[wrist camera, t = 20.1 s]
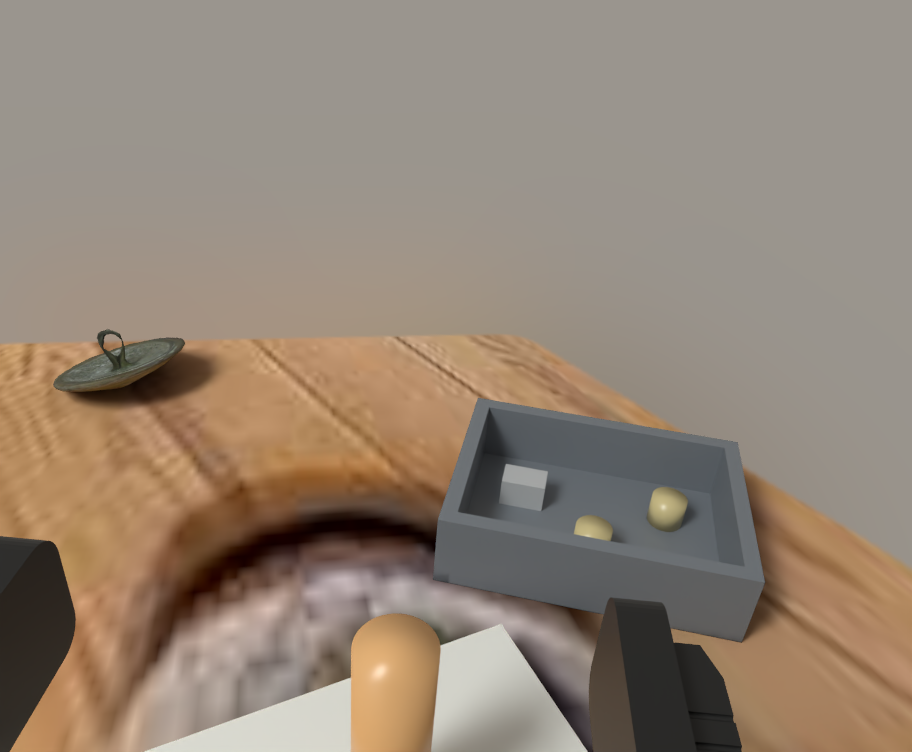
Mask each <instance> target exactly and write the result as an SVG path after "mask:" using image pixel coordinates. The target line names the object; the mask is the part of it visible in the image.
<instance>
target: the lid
mask: <svg viewBox="0 0 912 752" xmlns="http://www.w3.org/2000/svg"><path fill="white" fill-rule="evenodd" d="M106 334H115V335H116V336H118V337H119V338H120V339H121V340H122V338H121V336H120V334H119V333H117V332H114V331H111V330H105V331H101V332H100V333H98V337H97V339H98V342H99V345H100V347H101V348H102V349H103V344H104V336H105V335H106ZM184 345H185V342H184V340H183V339H181V338H180V339H179V338H159V339H153V340H148V341H143V342H139V343H133V344H129V345H126V346H124V343H123V341H122V347H120V348H116V349H113V350H111V351H107V350H105V349H103V351H104V353H103V354H100V355H97V356H94V357H92V358H89V359H87V360H85V361H83V362H81V363H80V364H78V365H75V366H74V367H72V368H71V369H69V370H67V371H65V372H64V373H63V374H61V375H60V376H58V378H56V380H55V381H54V384H53V385H54V387H55V388H56V389H58V390H61V391H69V392H84V391H95V390H106V389H116V388H122V387H125V386H127V385H129V384H131V383H133V382H134V381H136V380H138V379H140V378H142V377H144V376H145V375H147V374H149V373H151V372H153V371H154V370H156V369H157V368H159V367H161V366H162V365H164V364H165V363H167V362H168V361H169V360H170V359H171V358H172V357H174V356H175V355H176V354H177V353H178V352H180V351H181V349H182V348H183V346H184Z"/></svg>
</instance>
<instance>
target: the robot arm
mask: <svg viewBox="0 0 912 752" xmlns="http://www.w3.org/2000/svg"><path fill="white" fill-rule="evenodd" d="M75 620H76V619H75V611H74V607H73V603H72V599H71V596H70V592H69V588H68V585H67V581H66V577H65V574H64V570H63V566H62V563H61V559H60V555H59V552H58V549H57V547H56V545H55V544H54V543H53V542H51V541H44V540H34V539H23V538H13V537H3V536H0V752H10V750H11V748H12V747H13V745H14V743H15V741H16V740H17V738H18V736H19V735H20V733H21V731H22V730H23V728H24V726H25V725H26V723H27V721H28V720H29V718H30V716H31V715H32V713H33V711H34V709H35V708H36V706H37V704H38V703H39V701H40V699H41V698H42V696H43V694H44V693H45V691H46V689H47V688H48V686H49V684H50V683H51V681H52V679H53V678H54V676H55V674H56V672H57V671H58V669H59V667H60V666H61V664H62V662H63V661H64V659H65V657H66V655H67V653H68V651H69V649H70V646H71V643H72V640H73V636H74V631H75ZM589 711H590V722H591V733H592V744H593V752H741V747H742V745H741V742H740V738H739V734H738V731H737V727H736V723H734V722H733V712H732V708H731V705H730V701H729V697H728V693H727V690H726V686H725V682H724V679H723V677H722V676H721V674H720V673H719V671H718V670H717V669H716V667H715V666H714V664H713V663H712V662H711V660H710V659H709V657H708V656H707V655H706V653H705V652H704V650H703V649H702V647H701V646H700V645H693V644H683V643H673V638H672V634H671V629H670V624H669V620H668V615H667V611H666V608H665V606H664V604H663V603H662V602H653V601H643V600H632V599H622V598H612V597H610V598H609V600H608V602H607V605H606V608H605V612H604V617H603V621H602V625H601V629H600V633H599V637H598V641H597V645H596V649H595V653H594V658H593V662H592V666H591V672H590V683H589Z"/></svg>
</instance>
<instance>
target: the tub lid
mask: <svg viewBox="0 0 912 752" xmlns="http://www.w3.org/2000/svg"><path fill="white" fill-rule="evenodd" d="M145 752H588V751H587V750H586V748H585V747H584V746H583V744H582V743H581V741H580V740H579V738H578V737H577V735H576V734H575V732H574V731H573V729H572V728H571V726H570V725H569V723H568V722H567V720H566V719H565V717H564V716H563V714H562V713H561V712H560V710H559V709H558V707H557V706H556V704H555V703H554V701H553V700H552V698H551V697H550V695H549V694H548V692H547V691H546V689H545V688H544V686H543V685H542V683H541V682H540V680H539V679H538V678H537V676H536V675H535V673H534V672H533V670H532V669H531V667H530V666H529V664H528V663H527V661H526V660H525V658H524V657H523V655H522V654H521V652H520V651H519V649H518V648H517V646H516V645H515V643H514V642H513V641H512V639H511V638H510V636H509V635H508V633H507V632H506V630H505V629H504V627H503V626H502V624H500V625H497V626H494V627H491V628H488V629H486V630H483V631H480V632H477V633H475V634H472V635H469V636H466V637H463V638H461V639H458V640H455V641H452V642H449V643H447V644H444V645H441V646H440V642H439V639H438V637H437V635H436V633H435V632H434V630H433V629H432V628H431V627H430V626H429V625H428V624H427V623H425V622H424V621H422V620H420V619H418V618H416V617H414V616H410V615H406V614H387V615H382V616H379V617H376V618H374V619H372V620H370V621H368V622H367V623H366V624H364V625H363V626H362V627H361V628H360V629H359V630H358V632H357V633H356V635H355V637H354V639H353V642H352V648H351V678H349V679H346V680H343V681H340V682H338V683H335V684H332V685H329V686H326V687H324V688H321V689H318V690H315V691H312V692H310V693H307V694H304V695H301V696H298V697H296V698H293V699H290V700H287V701H284V702H282V703H279V704H276V705H273V706H270V707H268V708H265V709H262V710H259V711H256V712H254V713H251V714H248V715H245V716H243V717H240V718H237V719H234V720H231V721H229V722H226V723H223V724H220V725H217V726H215V727H212V728H209V729H206V730H203V731H201V732H198V733H195V734H192V735H189V736H187V737H184V738H181V739H178V740H175V741H173V742H170V743H167V744H164V745H161V746H159V747H156V748H153V749H150V750H147V751H145Z"/></svg>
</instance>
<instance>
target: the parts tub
mask: <svg viewBox="0 0 912 752" xmlns="http://www.w3.org/2000/svg"><path fill="white" fill-rule="evenodd" d="M433 580H438V581H443V582H447V583H452V584H457V585H462V586H467V587H472V588H477V589H482V590H487V591H492V592H497V593H501V594H506V595H511V596H516V597H521V598H526V599H531V600H536V601H541V602H546V603H551V604H556V605H560V606H565V607H570V608H575V609H580V610H585V611H590V612H595V613H600V614H604V612H605V608H606V605H607V602H608V600H609V598H610V597H612V598H622V599H632V600H643V601H653V602H662V603H663V604H664V606H665V608H666V611H667V615H668V620H669V624H670V628H673V629H678V630H683V631H688V632H693V633H698V634H703V635H708V636H713V637H718V638H723V639H728V640H732V641H737V642H742V640H743V638H744V635H745V633H746V630H747V628H748V625H749V622H750V620H751V617H752V615H753V612H754V610H755V607H756V605H757V602H758V599H759V597H760V594H761V592H762V589H763V587H764V584H765V580H764V575H763V570H762V565H761V559H760V554H759V549H758V544H757V539H756V534H755V529H754V524H753V519H752V514H751V508H750V503H749V498H748V493H747V488H746V483H745V478H744V473H743V468H742V463H741V457H740V452H739V448H738V443H737V442H733V441H726V440H721V439H715V438H709V437H703V436H697V435H692V434H686V433H680V432H674V431H668V430H662V429H657V428H651V427H645V426H639V425H633V424H627V423H622V422H616V421H610V420H604V419H598V418H592V417H586V416H581V415H575V414H569V413H563V412H557V411H551V410H546V409H540V408H534V407H528V406H522V405H516V404H510V403H505V402H499V401H493V400H487V399H481V398H478V400H477V403H476V406H475V409H474V412H473V415H472V418H471V421H470V424H469V427H468V430H467V433H466V436H465V439H464V442H463V445H462V448H461V452H460V455H459V458H458V461H457V464H456V467H455V470H454V473H453V476H452V479H451V482H450V485H449V488H448V491H447V494H446V497H445V500H444V503H443V506H442V509H441V512H440V515H439V518H438V526H437V538H436V550H435V563H434V575H433Z"/></svg>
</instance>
